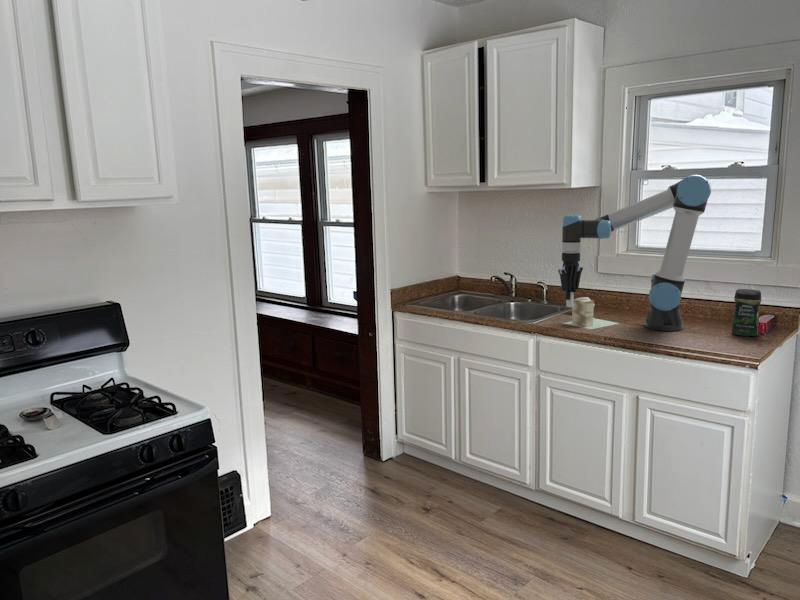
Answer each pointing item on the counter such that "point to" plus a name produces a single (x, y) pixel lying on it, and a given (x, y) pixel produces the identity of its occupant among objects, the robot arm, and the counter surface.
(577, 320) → the maple slab
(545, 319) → the counter surface
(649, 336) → the counter surface
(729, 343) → the counter surface
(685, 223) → the robot arm
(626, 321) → the counter surface
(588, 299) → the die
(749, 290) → the coffee jar
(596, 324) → the mat
